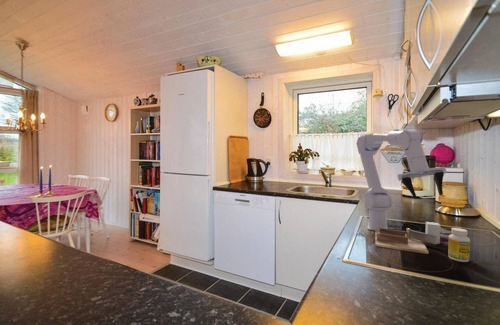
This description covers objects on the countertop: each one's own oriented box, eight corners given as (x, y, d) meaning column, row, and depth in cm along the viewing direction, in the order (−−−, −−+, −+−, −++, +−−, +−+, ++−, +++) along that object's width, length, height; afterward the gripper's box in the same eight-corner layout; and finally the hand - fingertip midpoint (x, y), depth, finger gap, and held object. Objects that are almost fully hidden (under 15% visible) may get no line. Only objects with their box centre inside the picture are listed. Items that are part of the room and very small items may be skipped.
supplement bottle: (457, 255, 84) (459, 227, 84) (474, 262, 79) (475, 231, 78) (443, 256, 83) (444, 227, 83) (459, 262, 78) (460, 232, 78)
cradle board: (375, 232, 108) (375, 224, 108) (419, 238, 101) (419, 230, 100) (375, 245, 91) (375, 236, 91) (428, 254, 84) (428, 244, 84)
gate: (405, 236, 99) (405, 228, 99) (407, 236, 99) (407, 227, 99) (435, 244, 90) (435, 235, 90) (437, 244, 91) (437, 234, 91)
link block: (425, 239, 101) (425, 221, 100) (437, 240, 99) (438, 223, 99) (427, 241, 97) (427, 224, 97) (439, 243, 95) (440, 225, 95)
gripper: (394, 160, 92) (404, 197, 86) (442, 152, 86) (456, 190, 81) (394, 166, 97) (403, 201, 92) (438, 158, 92) (451, 195, 86)
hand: (428, 196), depth 87 cm, fingers open, 7 cm apart
